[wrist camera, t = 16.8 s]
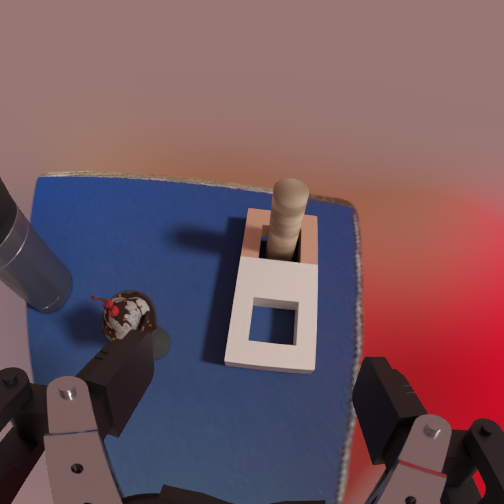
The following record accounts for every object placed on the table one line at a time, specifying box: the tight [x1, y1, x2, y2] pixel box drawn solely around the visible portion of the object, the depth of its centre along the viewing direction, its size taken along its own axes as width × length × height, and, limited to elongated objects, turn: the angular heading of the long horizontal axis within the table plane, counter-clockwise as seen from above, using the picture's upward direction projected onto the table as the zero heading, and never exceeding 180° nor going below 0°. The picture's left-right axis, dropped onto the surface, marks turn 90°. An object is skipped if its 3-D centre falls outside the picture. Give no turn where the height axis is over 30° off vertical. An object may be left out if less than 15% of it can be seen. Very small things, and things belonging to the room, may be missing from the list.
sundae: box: [91, 290, 170, 360], centre depth 31 cm, size 7×7×15 cm
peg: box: [266, 178, 309, 262], centre depth 40 cm, size 4×4×14 cm
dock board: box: [224, 208, 318, 374], centre depth 41 cm, size 24×11×3 cm, turn 173°
